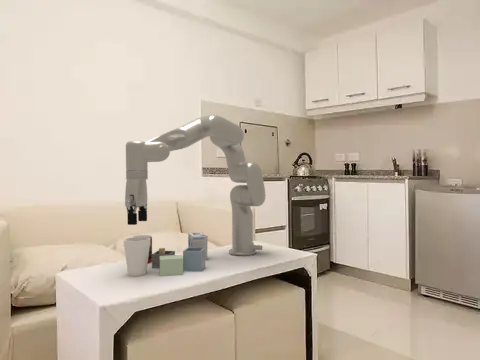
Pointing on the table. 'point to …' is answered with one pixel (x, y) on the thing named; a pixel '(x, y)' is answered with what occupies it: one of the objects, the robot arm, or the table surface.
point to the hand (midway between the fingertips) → (137, 222)
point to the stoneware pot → (193, 259)
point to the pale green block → (171, 265)
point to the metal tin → (157, 258)
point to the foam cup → (137, 255)
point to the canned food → (149, 248)
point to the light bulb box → (198, 241)
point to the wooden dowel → (161, 250)
